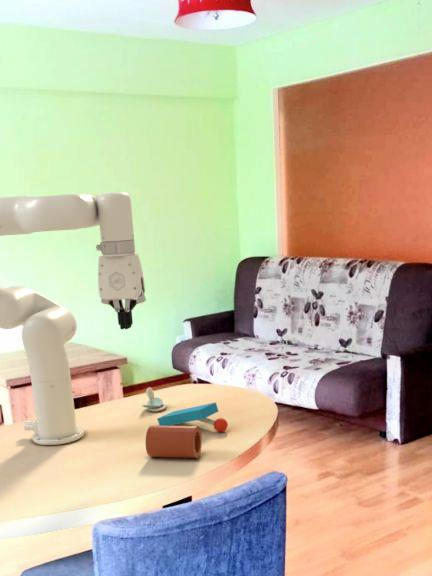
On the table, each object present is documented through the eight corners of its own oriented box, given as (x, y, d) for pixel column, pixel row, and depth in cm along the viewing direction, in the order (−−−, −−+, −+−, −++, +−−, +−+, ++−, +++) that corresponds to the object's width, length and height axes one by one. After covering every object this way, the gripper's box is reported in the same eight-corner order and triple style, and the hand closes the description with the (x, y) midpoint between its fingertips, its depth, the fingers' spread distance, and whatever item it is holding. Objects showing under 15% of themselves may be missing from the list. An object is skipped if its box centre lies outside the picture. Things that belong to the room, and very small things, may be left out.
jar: (144, 431, 162) (192, 432, 159) (154, 421, 168) (200, 422, 166) (146, 460, 164) (194, 462, 161) (156, 450, 170) (202, 451, 168)
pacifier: (170, 406, 207) (150, 405, 209) (169, 384, 205) (149, 383, 207) (160, 413, 200) (140, 412, 202) (159, 391, 198) (138, 390, 200)
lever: (165, 444, 188) (220, 434, 177) (157, 418, 187) (212, 407, 177) (180, 436, 194) (235, 426, 183) (173, 411, 193) (227, 399, 182)
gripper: (81, 251, 167) (90, 331, 172) (143, 248, 163) (150, 330, 168) (94, 249, 174) (102, 325, 179) (154, 246, 170) (161, 324, 175)
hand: (126, 328), depth 174 cm, fingers closed
